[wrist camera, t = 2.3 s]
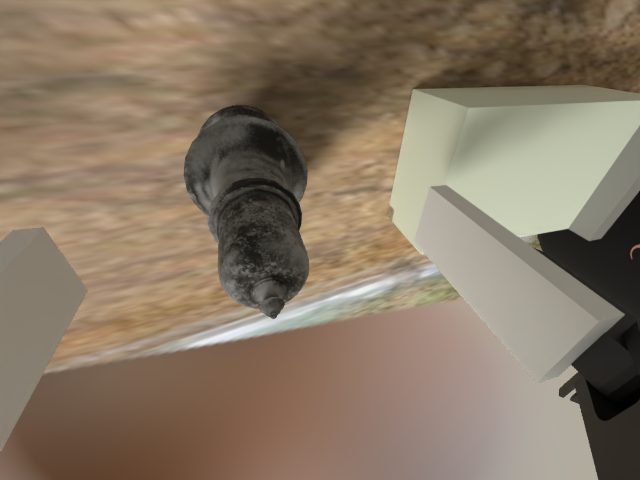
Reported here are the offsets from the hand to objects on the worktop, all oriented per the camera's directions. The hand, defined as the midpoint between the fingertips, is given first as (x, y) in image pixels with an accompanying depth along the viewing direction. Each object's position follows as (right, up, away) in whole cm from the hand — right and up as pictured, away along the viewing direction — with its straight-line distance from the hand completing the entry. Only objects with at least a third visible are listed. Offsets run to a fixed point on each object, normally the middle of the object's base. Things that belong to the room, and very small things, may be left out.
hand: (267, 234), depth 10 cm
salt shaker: (-2, +5, +6) cm, 8 cm away
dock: (+14, +6, +11) cm, 19 cm away
